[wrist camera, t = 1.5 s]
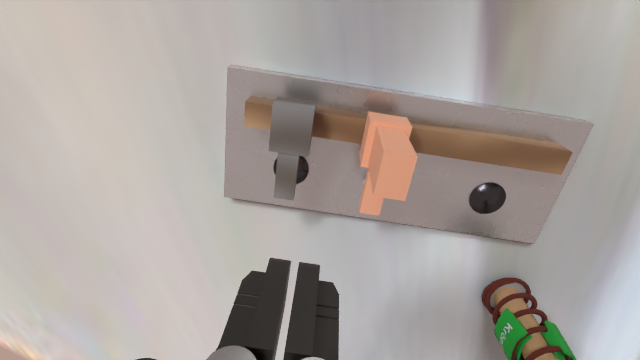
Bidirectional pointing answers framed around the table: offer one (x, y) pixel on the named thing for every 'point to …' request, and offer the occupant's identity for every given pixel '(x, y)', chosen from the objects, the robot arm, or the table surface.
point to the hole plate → (430, 171)
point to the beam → (314, 121)
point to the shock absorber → (522, 323)
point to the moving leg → (386, 160)
